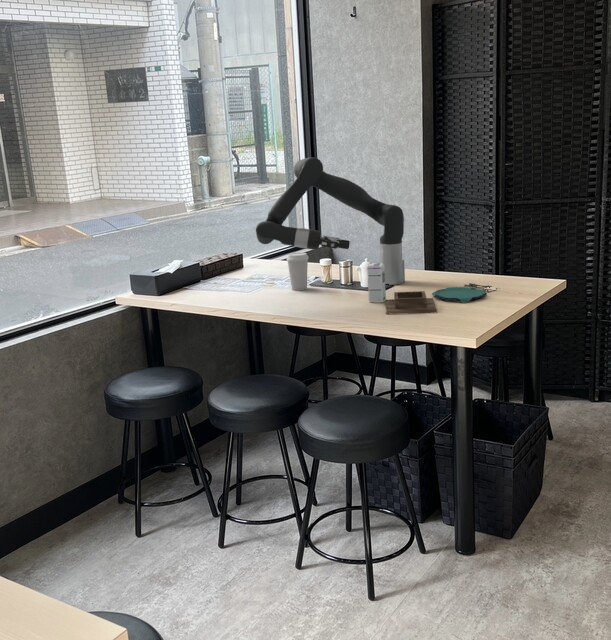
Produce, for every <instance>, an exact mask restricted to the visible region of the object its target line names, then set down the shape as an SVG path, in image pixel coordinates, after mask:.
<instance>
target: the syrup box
mask: <svg viewBox="0 0 611 640" xmlns="http://www.w3.org/2000/svg"><path fill="white" fill-rule="evenodd" d="M366 270H367V271H366V272H367V286H368V287H367V289H368V290H367V291H368V302H369V303H371V302H383V303H384V302H386V300H387V293H386V291H387V290H386V284H385V271H384V263H381V262H375V263H374V262H373V263H369V265H367V266H366Z"/></svg>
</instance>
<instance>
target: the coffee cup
mask: <svg viewBox="0 0 611 640" xmlns="http://www.w3.org/2000/svg"><path fill="white" fill-rule="evenodd" d="M309 258H310V257H309V255H308V254H307V253H306V252H291V253H288V254H287V256H286V261H287V267H288V274H289V279H290V285H291V290H292V291H304V289H305V290H307V289H308V261H309Z"/></svg>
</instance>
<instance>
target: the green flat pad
mask: <svg viewBox="0 0 611 640" xmlns="http://www.w3.org/2000/svg"><path fill="white" fill-rule="evenodd" d="M471 285H474V286H471ZM477 286H483V287H482V288H483V289H480V288H481V287H477ZM487 287H489V288H490V287H493V286H492V285H480V284H476V283H471V282H469V283H468V284H464V286H452V287H451V286H450V287H446V288H443V289H437V290H436V291H435V290H434V291H433V292H431V296H433V298H438V299H442V300H448V301H460V302H461V303H463V304H466V302H467V303H468V302H469V301H471V300H476V299H481V298H483V297H485V296H487V295H488V294H487V293H488V292H485V291H486V290H488V289H485V290H484V288H487Z"/></svg>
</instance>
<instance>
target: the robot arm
mask: <svg viewBox="0 0 611 640" xmlns="http://www.w3.org/2000/svg"><path fill="white" fill-rule="evenodd" d="M293 173H294V176H295V177H296V179H295V180H294V181H293V183H292V184H291V185H290V186H289V187H288V188H287V189H285V191H284V192H283V193H281V195H280V196H279V197H278V198H277V200H276V201H275V203H274V204H273V205H272V207H271V208H270V209H269V211H268V213H267V214H268V215H267V217H266V219H265V220H263V221H260V222H259V223H258V224H257V225H256V226H255V234H256V239H257V241H258V242H259V243H261V244H262V245H269V244H271V243H272V242H273V241H277V242H280V244H282V245H284V246H291V247H297V248H299V249H305V250H313V251H318V250H319V248H320V246H321V247H322V248H330V249H334V250H336V249H344V250H349V248H350V243H351V241H350V240H348V239H341V238H339V237H335V236H330V235H329V236H328V235H324V236H321V235H322V232H321V230H318V229H317V230H316V229H311V228H302V227H300V228H298V227H294V226H293V227H292V226H284V223H285V221H286V219H287V218H288V216H289V215H290V214H291V212H292V211H293V210H294V208H295V207H296V205H297V204H298V203H299V201H300V200H301V199H302V197H303V196H304V195H305V194H306V193H307V192H308V190H309V189H311V187H314V188H316V189H319V190H321V192H324V193H325V194H327V195H328V196H330V197H332V198H334V199H335V200H337V201H339V202H340V203H342V204H344V205H346V206H348V207H349V208H352V209H354V210H356V211H358V212H360V213H363V214H365V215H366V216H368V217H369V218H371V219H372V220H374V221H375V222H377V224H379V225H381V226H383V228H384V229H383V234H382V235H380V237H379V250H380V254H379V255H380V263H384V271H385V285H386V284H389V286H390V285H391V286H392V285H401V284H402V283H405V282H406V273H405V271H406V269H405V266H406V265H405V259H403V237H404V228H405V225H404V224H405V223H404V222H405V220H404V219H405V218H404V212H403V210H402V208H401V206H399V205H396V204H389V203H384V202H382V201H380V200H378V199H375V198H374V197H373V196H371V195H370V194H369V193H368V192H367V191H366V190H365V189H364V188H363V187H361V186H360V185H358V184H357V183H354V182H353V181H352V180H350V179H347V178H344V177H340V176H338V175H334V174H330V173H327V172H325V171H324V166H323V163H322V161H321V160H320V159H319V158H317V157H306V158H302V159H299V160H298V161H297V162H296V163H295V164H294V166H293Z"/></svg>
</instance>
